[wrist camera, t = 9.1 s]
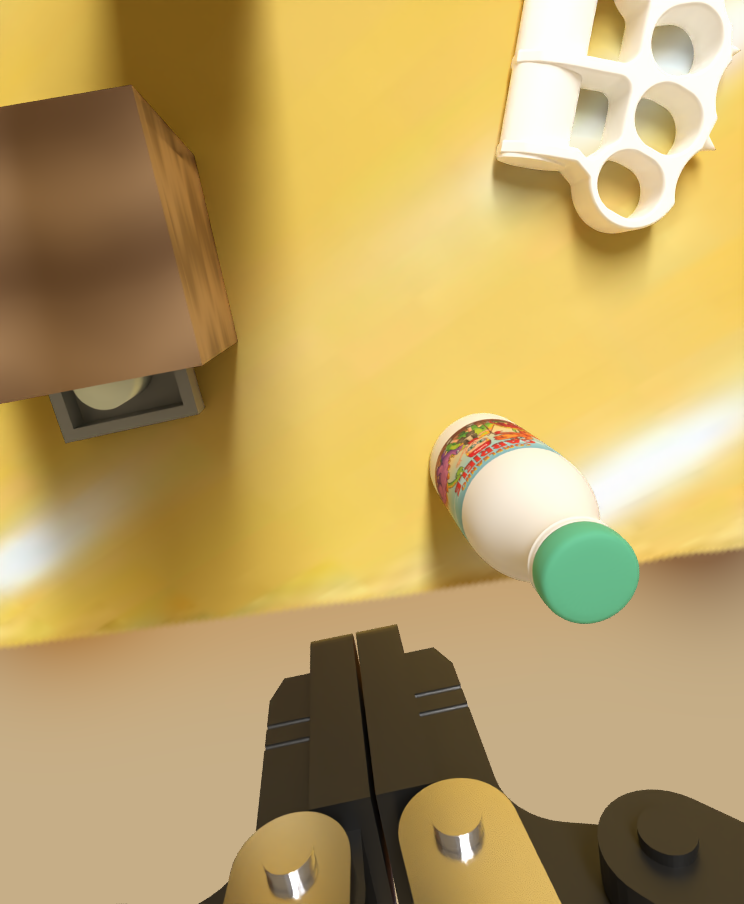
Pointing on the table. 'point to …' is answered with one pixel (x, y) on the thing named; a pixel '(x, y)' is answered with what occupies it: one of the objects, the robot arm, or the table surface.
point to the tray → (131, 407)
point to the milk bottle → (532, 517)
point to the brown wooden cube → (102, 247)
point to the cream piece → (112, 393)
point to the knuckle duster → (612, 98)
